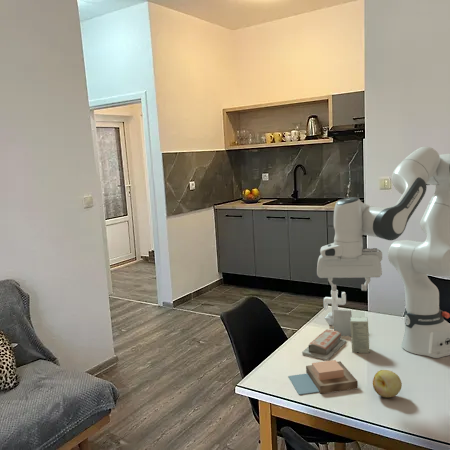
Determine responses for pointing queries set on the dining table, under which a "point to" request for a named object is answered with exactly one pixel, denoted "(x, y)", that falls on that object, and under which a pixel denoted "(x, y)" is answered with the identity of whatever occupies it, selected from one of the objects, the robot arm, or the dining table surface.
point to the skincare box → (359, 334)
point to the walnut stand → (333, 381)
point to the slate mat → (303, 384)
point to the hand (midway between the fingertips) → (349, 290)
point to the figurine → (333, 305)
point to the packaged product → (324, 345)
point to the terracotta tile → (327, 370)
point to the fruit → (387, 383)
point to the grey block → (342, 322)
